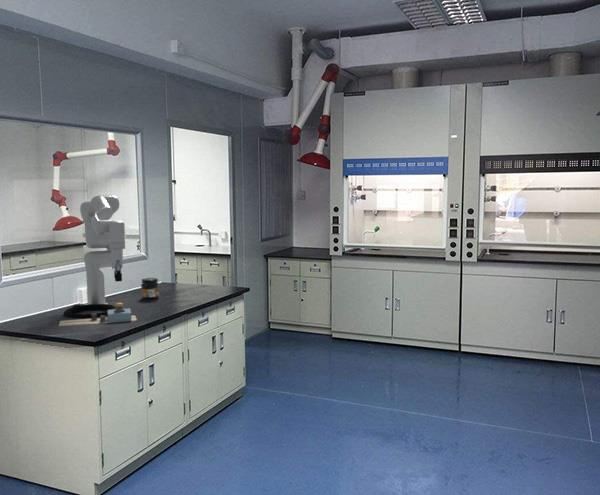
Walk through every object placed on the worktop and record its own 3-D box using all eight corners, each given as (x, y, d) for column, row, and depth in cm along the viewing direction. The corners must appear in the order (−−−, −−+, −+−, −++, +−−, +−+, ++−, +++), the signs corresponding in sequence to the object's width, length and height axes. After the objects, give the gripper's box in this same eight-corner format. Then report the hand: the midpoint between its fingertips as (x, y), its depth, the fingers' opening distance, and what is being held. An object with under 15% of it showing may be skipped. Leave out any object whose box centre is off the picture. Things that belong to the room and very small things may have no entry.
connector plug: (115, 318, 281) (115, 303, 280) (123, 318, 282) (122, 302, 282) (115, 320, 278) (115, 304, 277) (123, 319, 279) (122, 303, 278)
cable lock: (80, 317, 275) (50, 308, 294) (81, 324, 276) (50, 315, 294) (128, 307, 297) (97, 300, 315) (128, 314, 297) (98, 307, 316)
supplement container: (152, 300, 333) (152, 280, 331) (137, 299, 336) (137, 279, 335) (162, 297, 342) (162, 278, 341) (147, 296, 346) (147, 277, 345)
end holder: (107, 317, 283) (107, 309, 283) (130, 315, 287) (130, 308, 287) (108, 322, 273) (108, 314, 272) (131, 320, 277) (131, 312, 276)
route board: (60, 323, 276) (59, 315, 276) (135, 317, 288) (135, 310, 288) (58, 328, 265) (58, 320, 264) (136, 322, 277) (136, 315, 277)
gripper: (108, 244, 283) (109, 277, 285) (109, 247, 267) (110, 282, 269) (124, 243, 285) (125, 276, 287) (125, 247, 269) (126, 282, 271)
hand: (118, 279), depth 278 cm, fingers open, 9 cm apart
